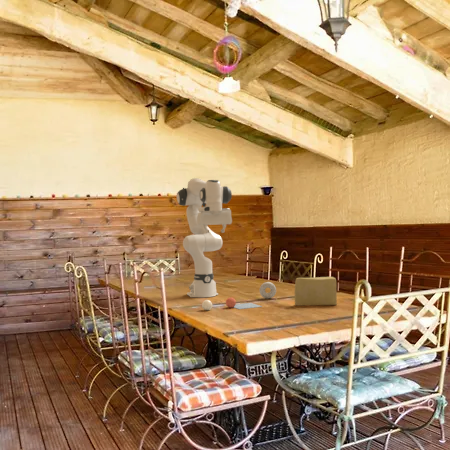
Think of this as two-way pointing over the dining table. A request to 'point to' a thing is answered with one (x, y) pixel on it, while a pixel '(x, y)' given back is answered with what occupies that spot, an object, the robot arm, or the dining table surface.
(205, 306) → the cue ball
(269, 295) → the donut
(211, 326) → the dining table surface
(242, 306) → the mark
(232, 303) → the red ball
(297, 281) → the olive tan box
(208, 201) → the robot arm
